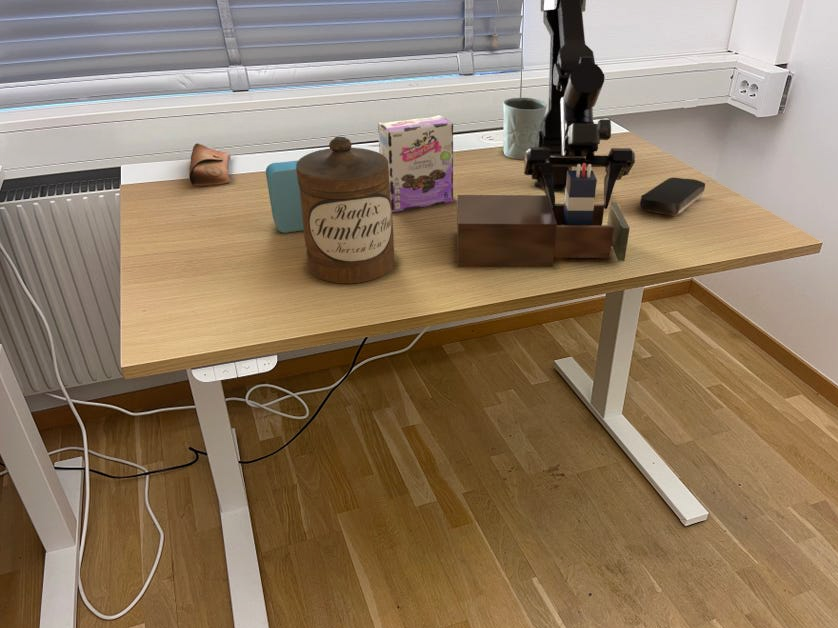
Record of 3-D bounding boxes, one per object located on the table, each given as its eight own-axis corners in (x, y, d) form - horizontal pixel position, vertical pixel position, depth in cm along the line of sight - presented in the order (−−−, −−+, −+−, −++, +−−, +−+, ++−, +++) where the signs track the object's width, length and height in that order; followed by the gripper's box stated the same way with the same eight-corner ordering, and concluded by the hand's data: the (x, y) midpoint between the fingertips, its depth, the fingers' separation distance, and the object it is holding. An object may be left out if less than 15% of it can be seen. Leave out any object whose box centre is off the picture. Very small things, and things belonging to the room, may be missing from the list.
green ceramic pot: (503, 145, 175) (505, 96, 168) (544, 148, 174) (548, 98, 167) (499, 159, 167) (501, 107, 160) (541, 162, 166) (545, 110, 159)
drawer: (618, 233, 132) (623, 201, 129) (631, 261, 123) (636, 228, 120) (530, 232, 132) (532, 201, 128) (536, 260, 122) (539, 227, 119)
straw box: (560, 235, 128) (568, 156, 120) (585, 235, 129) (594, 156, 120) (564, 246, 125) (572, 165, 116) (589, 246, 125) (599, 165, 116)
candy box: (391, 213, 140) (387, 130, 130) (381, 203, 144) (376, 122, 134) (454, 202, 145) (454, 122, 136) (442, 192, 149) (441, 113, 140)
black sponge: (673, 222, 139) (677, 205, 137) (635, 211, 143) (638, 194, 141) (705, 198, 150) (709, 181, 148) (668, 188, 154) (671, 172, 152)
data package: (336, 216, 138) (329, 156, 131) (341, 225, 135) (334, 164, 128) (273, 224, 134) (264, 163, 127) (277, 234, 131) (267, 172, 124)
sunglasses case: (232, 181, 150) (210, 156, 146) (206, 199, 151) (183, 175, 147) (231, 153, 164) (211, 130, 160) (207, 170, 165) (186, 147, 161)
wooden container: (319, 291, 114) (302, 158, 101) (300, 252, 125) (283, 128, 112) (406, 275, 119) (400, 147, 106) (380, 239, 130) (372, 119, 117)
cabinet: (544, 235, 133) (548, 195, 128) (552, 267, 123) (556, 224, 118) (457, 235, 132) (457, 194, 128) (458, 266, 122) (458, 223, 117)
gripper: (529, 99, 116) (531, 188, 113) (641, 100, 117) (645, 189, 114) (522, 132, 127) (524, 214, 124) (624, 133, 128) (628, 214, 125)
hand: (580, 207), depth 122 cm, fingers open, 9 cm apart
